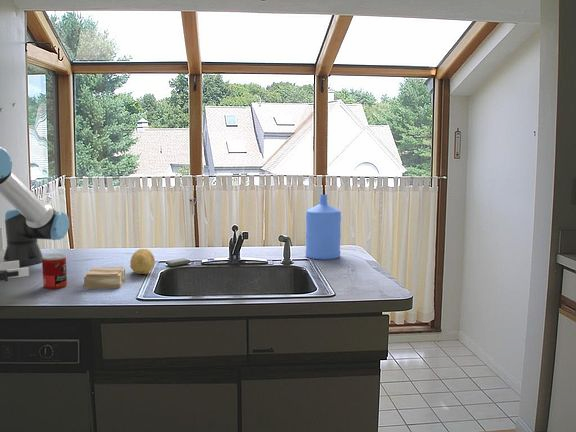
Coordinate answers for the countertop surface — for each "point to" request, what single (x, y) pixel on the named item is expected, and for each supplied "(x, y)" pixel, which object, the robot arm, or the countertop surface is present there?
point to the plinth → (104, 278)
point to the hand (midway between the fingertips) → (23, 267)
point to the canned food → (54, 271)
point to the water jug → (323, 231)
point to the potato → (142, 261)
